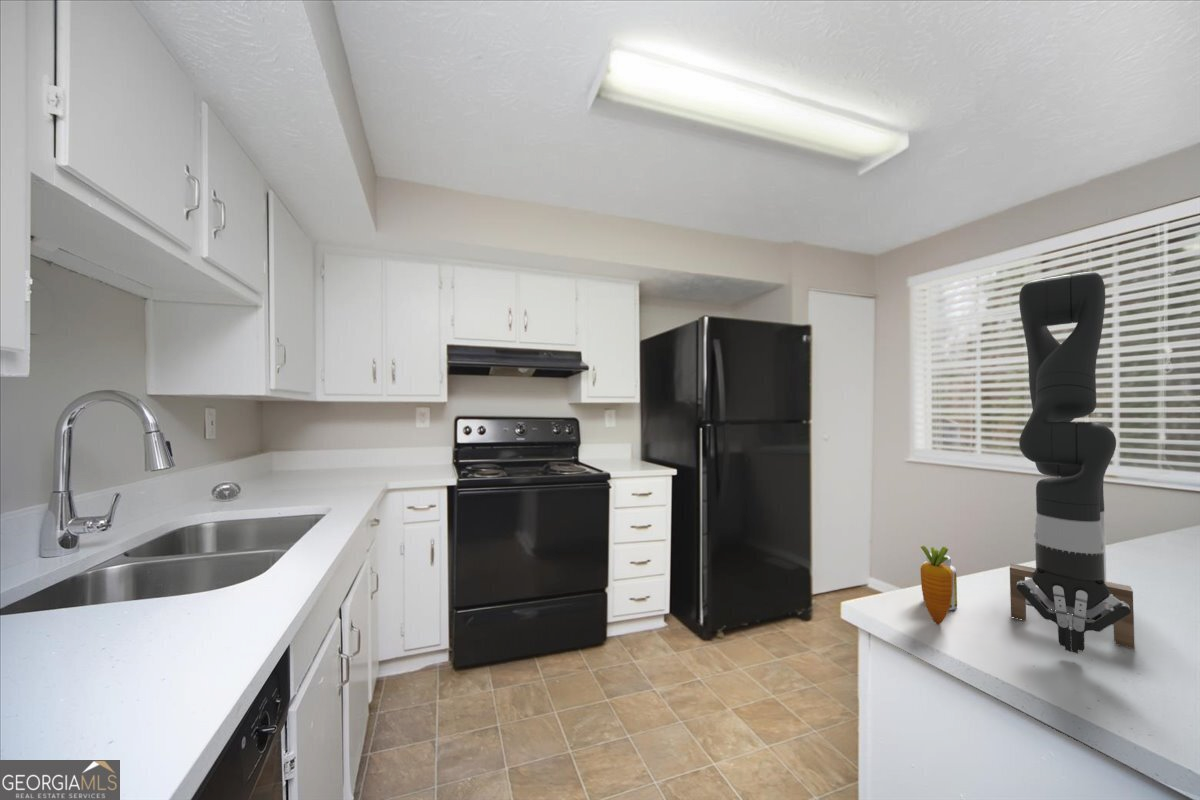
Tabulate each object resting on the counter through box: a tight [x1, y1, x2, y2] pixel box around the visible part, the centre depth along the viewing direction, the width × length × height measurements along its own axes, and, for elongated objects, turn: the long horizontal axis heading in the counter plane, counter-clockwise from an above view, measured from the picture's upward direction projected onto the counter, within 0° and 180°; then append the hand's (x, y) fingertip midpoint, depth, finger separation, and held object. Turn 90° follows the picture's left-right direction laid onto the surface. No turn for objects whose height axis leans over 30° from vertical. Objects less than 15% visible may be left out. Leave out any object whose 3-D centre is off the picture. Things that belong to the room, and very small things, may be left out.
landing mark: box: [1026, 586, 1114, 626], centre depth 87 cm, size 12×12×1 cm
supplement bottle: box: [921, 552, 958, 611], centre depth 88 cm, size 6×6×10 cm
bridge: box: [1009, 563, 1135, 649], centre depth 78 cm, size 3×15×10 cm, turn 44°
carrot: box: [920, 545, 953, 625], centre depth 80 cm, size 5×5×15 cm
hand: (1071, 649), depth 69 cm, fingers closed
